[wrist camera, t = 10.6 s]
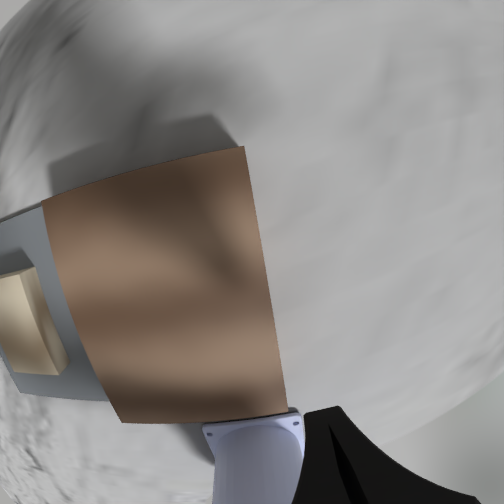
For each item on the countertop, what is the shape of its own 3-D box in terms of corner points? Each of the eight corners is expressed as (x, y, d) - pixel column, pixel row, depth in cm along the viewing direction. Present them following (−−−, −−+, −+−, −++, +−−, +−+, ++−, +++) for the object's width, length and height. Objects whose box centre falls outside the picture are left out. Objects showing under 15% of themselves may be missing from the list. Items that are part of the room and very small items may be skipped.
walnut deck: (283, 384, 20) (288, 411, 17) (133, 398, 20) (121, 422, 17) (243, 152, 16) (243, 145, 13) (67, 197, 16) (41, 201, 13)
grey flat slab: (129, 398, 20) (128, 401, 20) (22, 390, 20) (20, 392, 20) (63, 198, 16) (60, 199, 16) (-35, 239, 16) (-38, 240, 16)
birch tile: (14, 371, 17) (25, 361, 19) (59, 375, 17) (70, 362, 19) (-22, 284, 15) (-7, 277, 17) (19, 274, 15) (35, 266, 17)
